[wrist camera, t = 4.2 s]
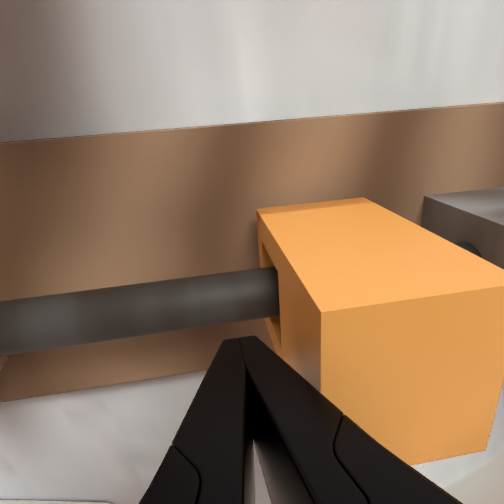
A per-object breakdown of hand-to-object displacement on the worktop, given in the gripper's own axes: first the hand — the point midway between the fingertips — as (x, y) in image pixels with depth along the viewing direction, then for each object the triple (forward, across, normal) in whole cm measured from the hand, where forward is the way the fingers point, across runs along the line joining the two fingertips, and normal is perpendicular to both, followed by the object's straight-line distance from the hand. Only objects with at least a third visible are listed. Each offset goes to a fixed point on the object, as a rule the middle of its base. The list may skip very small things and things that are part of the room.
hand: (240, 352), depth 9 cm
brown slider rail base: (+7, 0, 0) cm, 7 cm away
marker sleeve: (+5, -3, 0) cm, 6 cm away
